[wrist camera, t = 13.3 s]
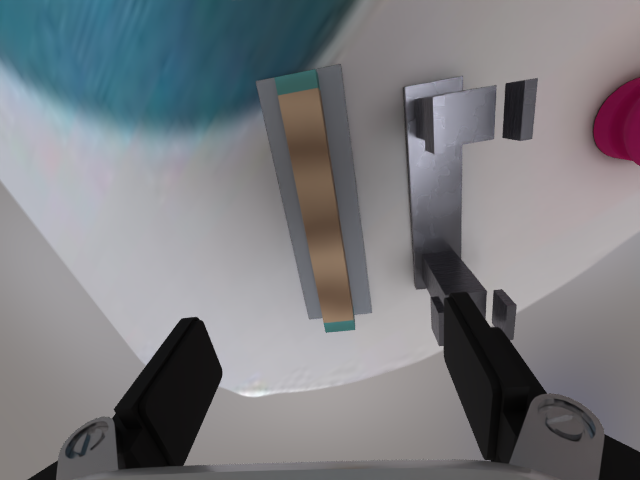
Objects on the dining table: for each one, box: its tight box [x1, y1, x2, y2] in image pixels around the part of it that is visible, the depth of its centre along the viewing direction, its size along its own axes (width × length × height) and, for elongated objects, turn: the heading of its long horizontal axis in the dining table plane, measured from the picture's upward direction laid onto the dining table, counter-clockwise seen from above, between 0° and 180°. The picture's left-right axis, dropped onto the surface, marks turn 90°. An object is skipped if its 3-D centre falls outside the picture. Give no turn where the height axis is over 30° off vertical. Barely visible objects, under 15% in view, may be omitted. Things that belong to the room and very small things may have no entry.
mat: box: [256, 64, 372, 319], centre depth 29 cm, size 24×7×1 cm, turn 10°
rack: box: [403, 76, 538, 346], centre depth 24 cm, size 19×5×10 cm, turn 10°
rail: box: [274, 69, 355, 333], centre depth 28 cm, size 23×3×3 cm, turn 10°
